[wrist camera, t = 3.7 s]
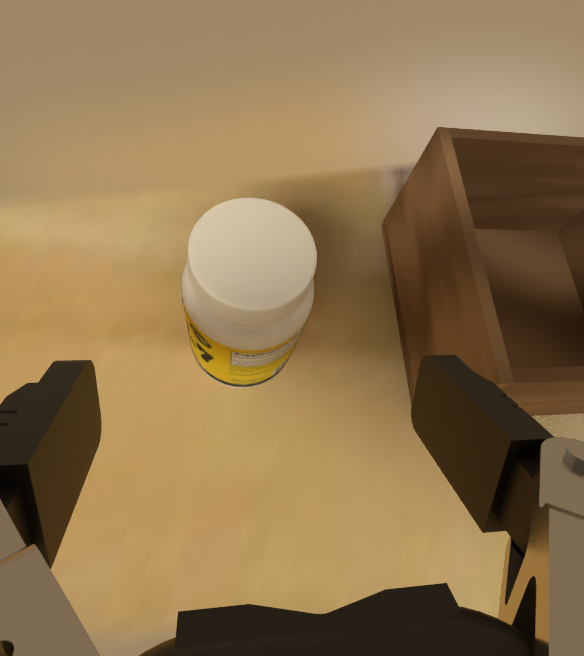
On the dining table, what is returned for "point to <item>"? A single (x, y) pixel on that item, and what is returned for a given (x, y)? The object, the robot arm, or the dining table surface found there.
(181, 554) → the dining table surface
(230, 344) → the supplement bottle
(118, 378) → the dining table surface
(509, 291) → the wooden box
